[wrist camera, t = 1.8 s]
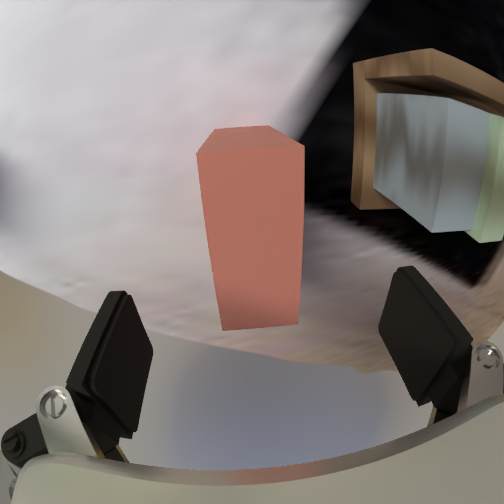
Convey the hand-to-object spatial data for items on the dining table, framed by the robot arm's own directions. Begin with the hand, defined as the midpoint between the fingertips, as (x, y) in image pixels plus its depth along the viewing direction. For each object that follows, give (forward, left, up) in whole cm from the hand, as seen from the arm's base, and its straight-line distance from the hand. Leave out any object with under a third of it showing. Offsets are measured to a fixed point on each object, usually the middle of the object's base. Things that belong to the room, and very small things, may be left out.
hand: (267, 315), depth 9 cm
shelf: (-4, +20, -14) cm, 25 cm away
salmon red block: (0, 0, -14) cm, 14 cm away
